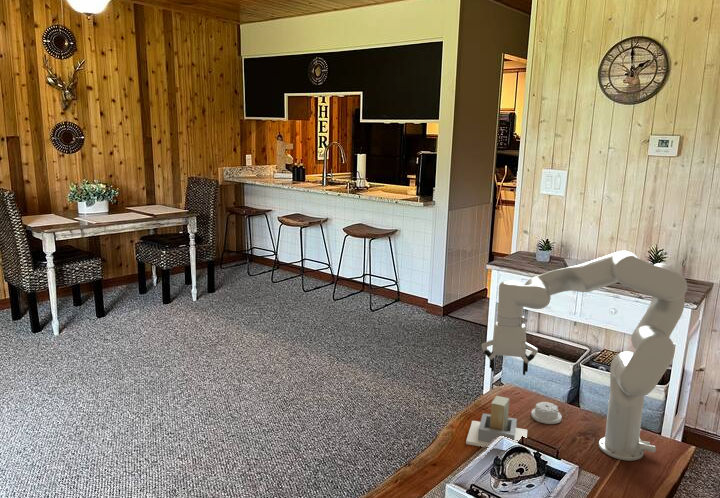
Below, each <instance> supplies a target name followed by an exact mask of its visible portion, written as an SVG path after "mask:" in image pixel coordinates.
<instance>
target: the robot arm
mask: <svg viewBox="0 0 720 498" xmlns="http://www.w3.org/2000/svg"><path fill="white" fill-rule="evenodd" d="M617 283H619V284H620V285H623V286H624V287H628V288H629V289H631V290H634V291H637V292H639V293H642V294H645V295H646V296H647V295H648V296H649V297H650V296H651V300H650V303H649V305H648V308H647V309H646V311H645V313H644V315H643V317H642V318H641V319H640V320H639V321H640V322H639V323H638V324H637V326H636V327H635V329H634V330H633V332H632V334H631V338H630V339H631V340H630V341H631V345H632V346H633V348H634V350H635V351H634V352H633V351H620V352H619V353H617V354H615V356H614V357H613V359H612V360H611V363H610V370H609V372H610V374H609V380H610V381H609V383H610V384H609V397H608V403H607V404H608V406H607V416H606V422H605V423H606V425H605V434H604V437H602V438H600V439H599V440H598V447H599V449H600V450H601V451H602V452H603V453H604V454H606V455H608V456H609V457H611V458H614V459H617V460H622V461H637V460H640V459H642V458H643V456H644V451H647V452H651V453H656V452H657V451H656V450H657V448H656V447H657V446H656V445H653V444H651V441H647V440H642V439H641V438H640V436H641V427H642V417H643V411H644V410H643V408H644V401H645V397H646V396H647V395H649V394H650V393H651V392H652V391H653V390H654V389H655V388H656V386H657V385H658V383H659V382H660V380H661V379H662V377H663V375H665V373H666V371H667V369H668V368H669V366H671V363H672V362H673V359H674V357H675V351H676V350H675V349H676V348H675V345H674V343H673V341H672V339H671V338H670V337H671V335H672V333H673V331H674V329H675V328H676V326H677V325H678V322H679V321H680V320H681V317H682V314H683V312H684V308H685V295H686V293H687V291H688V282H687V280H686V278H685V277H684V276H683V274H681V273H679V272H678V271H677V270H676V269H675V268H673V267H672V266H671V265H668V264H666V263H655V264H652V263H651V262H647V261H645V260H643V259H640V258H639V257H638V256H637V255H636V254H635V253H633V252H630V251H627V250H620V251H616V252H613V253H610V254H607V255H604V256H602V257H601V256H600V257H598V258H596V259H593V260H590V261H587V262H584V263H580V264H577V265H573V266H568V267H564V268H559V269H554V270H550V271H547V272H544V273H542V274H538V275H537V276H534V277H531V278H530V279H528V280H527V281H526V282H525V283H524V284H523V283H522V282H521V281H517V280H505V281H504V280H503V281H501V282H500V284H499V285H498V302H497V303H498V305H497V306H498V308H497V309H498V310H497V321H496V322H495V325H494V329H493V337H492V339H491V340H488V341H485V342H484V343H482V344H481V346H480V347H481V349H482V351H483V354H485V356H487V358H488V360H489V369H491V372H492V373H493V372H495V364H496V363H495V362H496V361H495V359H496V357H497V356H503V357H504V356H505V357H514V358H516V357H517V358H521V359H522V360H523V362H522V365H523V366H522V375H523V376H526V372H529V363H530V362H531V361H532V360H533V359H535V357H536V355H537V354H538V352H539V350H538V348H537V347H535V346H534V345H532V344H530V343H528V342H527V330H526V325H525V323H528V320H529V319H528V317H525V316H524V308H528V309H532V310H533V309H534V310H542V309H544V308H546V307H548V305H549V304H550V303H551V296H552V295H553V296H554V295H556V294H560V293H563V292H564V293H565V292H569V291H570V292H579V293H591V292H593V291H596V290H599V289H602V288H605V287H609V286H611V285H615V284H617ZM491 346H492V351H490V350H489V349H488V347H491ZM526 350H529V351H531V353H530V354H529V355H528V354H527V353H526V352H527V351H526Z"/></svg>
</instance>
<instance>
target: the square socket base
mask: <svg viewBox="0 0 720 498" xmlns="http://www.w3.org/2000/svg"><path fill="white" fill-rule="evenodd" d="M490 419H491V413H490V414H489V413H484V412H483V413H482V415H481V418H480V421H478V420H471V424H470V428H469V430H468V434H467V437H466V441H465V445H470V446H475V447H476V446H477V447H480V446H481V447H482V448H485V447H484V446H486V445H487V444H489V443H490V442H491V441H492V440H493V439H495V438H496V437H499V436H504V437H507V438H510V439H512V440H518V441H519V440H520V439H521V437H522V436H523V437H525V438H527V439H528V429H525V428H520V427H517V423H518V422H517V421H518V420H517V419H518V418H514V417H510V416H508V428H507V431H501V430H495V429H490Z"/></svg>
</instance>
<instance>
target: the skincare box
mask: <svg viewBox="0 0 720 498" xmlns="http://www.w3.org/2000/svg"><path fill="white" fill-rule="evenodd" d="M509 408H510V398H509V397H505V396H500V395H496V396H495V397H494V398H493V400H492V401H491V404H490V414H491V419H490V429H495V430H501V431H507V428H508V417H509V410H510V409H509Z"/></svg>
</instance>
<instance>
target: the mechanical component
mask: <svg viewBox="0 0 720 498" xmlns="http://www.w3.org/2000/svg"><path fill="white" fill-rule="evenodd" d="M531 417H532V419H533V420H535V421H536V422H539V423H541V424H547V425H555V424H559V423H560V422H562V414H561V413H560V412H559V406H558V405H556V404H554V403H553V402H548V401H541V402H537V403H536V404H535V408H533V409H532V410H531Z"/></svg>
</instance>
